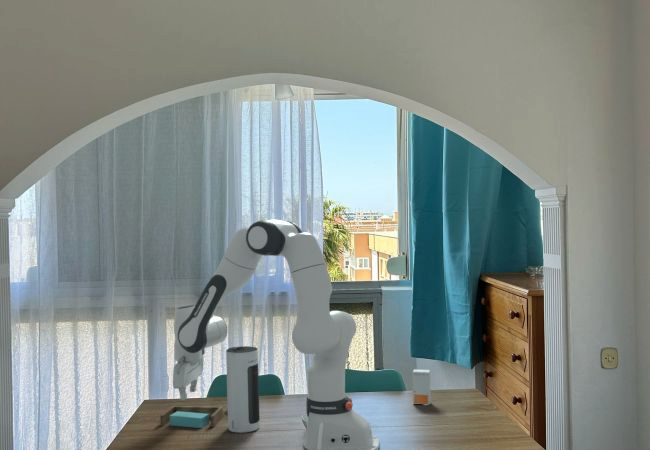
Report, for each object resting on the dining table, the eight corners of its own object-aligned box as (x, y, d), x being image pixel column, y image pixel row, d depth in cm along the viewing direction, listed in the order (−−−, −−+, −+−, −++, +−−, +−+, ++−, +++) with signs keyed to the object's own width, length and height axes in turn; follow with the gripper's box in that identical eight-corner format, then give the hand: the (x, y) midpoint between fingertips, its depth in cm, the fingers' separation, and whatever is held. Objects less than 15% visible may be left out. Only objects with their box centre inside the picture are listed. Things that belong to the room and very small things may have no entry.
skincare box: (412, 404, 231) (411, 371, 231) (414, 401, 236) (413, 368, 236) (429, 406, 230) (428, 372, 230) (431, 402, 234) (430, 369, 234)
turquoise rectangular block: (209, 424, 215) (209, 413, 215) (202, 429, 210) (201, 418, 210) (177, 421, 218) (177, 411, 218) (169, 426, 214) (169, 415, 214)
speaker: (242, 435, 201) (240, 352, 201) (220, 429, 208) (218, 348, 208) (266, 427, 209) (264, 346, 209) (244, 421, 216) (243, 343, 216)
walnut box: (223, 416, 221) (222, 406, 221) (213, 427, 211) (213, 416, 210) (172, 416, 224) (172, 405, 224) (160, 426, 213) (160, 415, 213)
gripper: (186, 360, 203) (187, 404, 204) (206, 347, 224) (206, 387, 224) (167, 360, 204) (168, 404, 204) (188, 347, 224) (189, 387, 225)
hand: (188, 395), depth 214 cm, fingers open, 8 cm apart
